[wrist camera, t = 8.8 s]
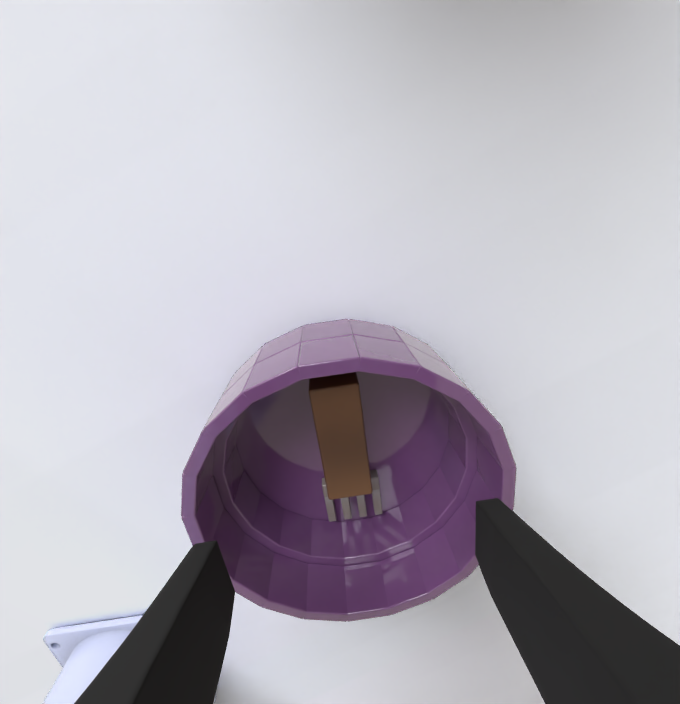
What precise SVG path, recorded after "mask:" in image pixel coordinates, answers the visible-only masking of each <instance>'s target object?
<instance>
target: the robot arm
mask: <svg viewBox="0 0 680 704" xmlns="http://www.w3.org/2000/svg"><path fill="white" fill-rule="evenodd" d="M475 555H476V558H477V561H478V563H479V566H480V568H481V571H482V574H483V576H484V579H485V581H486V584H487V586H488V589H489V591H490V594H491V596H492V598H493V600H494V602H495V604H496V606H497V608H498V610H499V612H500V614H501V616H502V618H503V620H504V622H505V624H506V626H507V628H508V630H509V632H510V634H511V636H512V638H513V640H514V642H515V644H516V646H517V648H518V650H519V652H520V654H521V656H522V658H523V660H524V662H525V664H526V666H527V668H528V670H529V672H530V674H531V676H532V678H533V680H534V682H535V684H536V686H537V688H538V690H539V692H540V694H541V696H542V698H543V700H544V702H545V704H680V646H679V645H678V644H677V643H675V642H674V641H672V640H671V639H670V638H668V637H667V636H665V635H664V634H663V633H661V632H660V631H658V630H657V629H656V628H654V627H653V626H651V625H650V624H649V623H647V622H646V621H645V620H643V619H642V618H641V617H639V616H638V615H637V614H635V613H634V612H633V611H631V610H630V609H629V608H627V607H626V606H625V605H623V604H622V603H621V602H620V601H618V600H617V599H616V598H614V597H613V596H612V595H611V594H609V593H608V592H607V591H606V590H604V589H603V588H602V587H600V586H599V585H598V584H597V583H595V582H594V581H593V580H592V579H591V578H589V577H588V576H587V575H586V574H584V573H583V572H582V571H581V570H580V569H578V568H577V567H576V566H575V565H574V564H572V563H571V562H570V561H569V560H568V559H566V558H565V557H564V556H563V555H562V554H561V553H559V552H558V551H557V550H556V549H555V548H553V547H552V546H551V545H550V544H549V543H548V542H547V541H545V540H544V539H543V538H542V537H541V536H540V535H539V534H538V533H536V532H535V531H534V530H533V529H532V528H531V527H530V526H529V525H527V524H526V523H525V522H524V521H523V520H522V519H521V518H520V517H519V516H518V515H516V514H515V513H514V512H513V511H512V510H511V509H510V508H509V507H508V506H507V505H505V504H504V503H503V502H502V501H501V500H500V499H498V498H494V499H487V500H480V501H476V526H475ZM234 595H235V590H234V587H233V584H232V581H231V579H230V576H229V573H228V570H227V567H226V565H225V562H224V559H223V556H222V553H221V551H220V548H219V545H218V542H217V540H216V541H209V542H203V543H196V544H194V545H193V547H192V548H191V549H190V551H189V552H188V554H187V555H186V556H185V558H184V559H183V560H182V562H181V563H180V565H179V566H178V568H177V569H176V570H175V572H174V573H173V575H172V576H171V577H170V579H169V580H168V582H167V583H166V584H165V586H164V587H163V589H162V590H161V591H160V593H159V594H158V596H157V597H156V598H155V600H154V601H153V602H152V604H151V605H150V607H149V608H148V609H147V611H146V612H145V613H144V615H139V616H133V617H126V618H119V619H113V620H106V621H99V622H93V623H86V624H79V625H72V626H66V627H59V628H53V629H50V630H48V631H47V633H46V634H45V636H44V638H43V640H44V642H45V644H46V645H47V646H48V648H49V649H50V651H51V652H52V653H53V655H54V656H55V658H56V659H57V660H58V662H59V663H60V665H61V666H62V667H63V669H62V670H61V672H60V674H59V676H58V677H57V679H56V681H55V683H54V684H53V686H52V688H51V690H50V691H49V693H48V695H47V696H46V698H45V700H44V702H43V703H42V704H214V703H215V699H216V694H215V693H216V689H217V685H218V681H219V677H220V673H221V668H222V664H223V660H224V655H225V651H226V647H227V642H228V638H229V632H230V625H231V618H232V611H233V603H234Z"/></svg>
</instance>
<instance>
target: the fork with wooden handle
mask: <svg viewBox="0 0 680 704" xmlns="http://www.w3.org/2000/svg"><path fill="white" fill-rule="evenodd" d="M309 397H310V403H311V408H312V413H313V419H314V424H315V429H316V435H317V440H318V445H319V450H320V456H321V461H322V466H323V472H324V478H322V489H323V494H324V498H325V504H326V509H327V514H328V519H329V522H332V521H336V520H337V519H336V510H335V504H334V499H340V498H341V503H342V509H343V515H344V519H351V518H352V514H351V507H350V501H349V497H354V496H357V503H358V510H359V516H360V517H365V516H367V510H366V503H365V496H364V495H367V494H372V499H373V507H374V512H375V515H379V514H382V505H381V496H380V486H379V478H378V473H377V470H371V471H370V466H369V458H368V450H367V442H366V434H365V426H364V418H363V410H362V403H361V395H360V387H359V382H358V378H357V374H356V372H352V373H345V374H338V375H332V376H325V377H318V378H311V379H309Z"/></svg>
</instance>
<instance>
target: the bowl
mask: <svg viewBox="0 0 680 704" xmlns="http://www.w3.org/2000/svg"><path fill="white" fill-rule="evenodd" d="M352 372H356V374H357V378H358V382H359V387H360V395H361V403H362V410H363V418H364V426H365V434H366V442H367V450H368V458H369V466H370V471H371V470H377V473H378V478H379V486H380V496H381V505H382V514H379V515H375V512H374V507H373V499H372V494H367V495H364V496H365V503H366V510H367V516H365V517H360V516H359V510H358V503H357V496H354V497H349V501H350V507H351V514H352V518H351V519H344V515H343V509H342V503H341V498H340V499H334V504H335V510H336V519H337V520H336V521H332V522H329V519H328V514H327V509H326V504H325V498H324V494H323V489H322V478H324V472H323V466H322V461H321V456H320V450H319V445H318V440H317V435H316V429H315V424H314V419H313V413H312V408H311V403H310V397H309V379H311V378H318V377H325V376H332V375H338V374H345V373H352ZM515 481H516V464H515V461H514V458H513V456H512V453H511V450H510V447H509V444H508V442H507V439H506V436H505V433H504V430H503V427H502V426H501V424H500V423H499V422H498V421H497V420H496V419H495V417H494V416H493V415H492V414H491V413H490V412H489V411H488V410H487V408H486V407H485V406H484V405H483V404H482V403H481V402H480V401H479V400H478V398H477V397H476V396H475V395H474V394H473V393H472V392H471V391H470V390H469V388H468V387H467V386H466V385H465V384H464V383H463V382H462V381H461V380H460V378H459V377H458V376H457V375H456V374H455V373H454V372H453V371H452V370H451V368H450V367H449V366H448V365H447V364H446V363H445V362H444V361H443V360H442V359H441V358H440V356H439V355H438V354H437V353H436V352H435V351H434V350H433V349H432V348H431V347H430V346H429V345H428V344H426V343H424V342H422V341H420V340H419V339H417V338H415V337H413V336H411V335H409V334H407V333H405V332H403V331H401V330H399V329H398V328H396V327H394V326H389V325H383V324H377V323H371V322H365V321H359V320H353V319H349V320H348V319H342V320H336V321H329V322H322V323H315V324H308V325H304V326H301V327H299V328H297V329H295V330H293V331H290V332H288V333H286V334H284V335H282V336H280V337H278V338H276V339H274V340H272V341H270V342H268V343H266V344H264V346H262V347H261V348H260V349H259V350H258V351H257V352H255V353H254V354H253V355H252V356H251V357H250V358H249V359H248V360H247V361H246V362H245V363H244V364H243V365H242V366H241V367H240V368H239V369H238V370H237V371H236V372H235V374H234V375H233V376H232V378H231V380H230V382H229V383H228V385H227V387H226V389H225V391H224V392H223V394H222V396H221V398H220V399H219V401H218V403H217V405H216V407H215V408H214V410H213V412H212V414H211V416H210V417H209V419H208V421H207V423H206V424H205V426H204V428H203V430H202V432H201V434H200V436H199V438H198V440H197V443H196V445H195V447H194V449H193V451H192V453H191V455H190V457H189V460H188V462H187V464H186V466H185V468H184V470H183V474H182V504H181V516H182V520H183V523H184V525H185V528H186V530H187V533H188V535H189V538H190V540H191V543H192V545H194V544H196V543H203V542H209V541H216V540H217V542H218V545H219V548H220V551H221V553H222V556H223V559H224V562H225V565H226V567H227V570H228V573H229V576H230V579H231V581H232V584H233V587H234V590H235V592H236V593H238V594H239V595H241V596H243V597H245V598H246V599H248V600H250V601H251V602H253V603H255V604H257V605H258V606H260V607H261V606H262V608H266V609H269V610H273V611H276V612H280V613H283V614H287V615H290V616H294V617H297V618H301V619H309V620H327V621H344V622H346V621H355V620H362V619H368V618H375V617H382V616H388V615H393V614H396V613H398V612H401V611H404V610H406V609H409V608H412V607H414V606H417V605H420V604H422V603H425V602H428V601H430V600H432V599H435V598H436V597H438V596H439V595H441V594H442V593H444V592H445V591H447V590H448V589H450V588H451V587H453V586H454V585H456V584H458V583H459V582H461V581H462V580H464V579H465V578H467V577H468V575H470V574H471V573H472V572H473V571H474V570H475V568H476V567H477V566H478V565H479V563H478V561H477V558H476V555H475V526H476V501H480V500H487V499H494V498H498V499H500V500H501V501H502V502H503V503H504V504H505V505H507V506H508V507H509V508H510V509H511V510H512V511H513V507H514V496H515Z"/></svg>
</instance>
